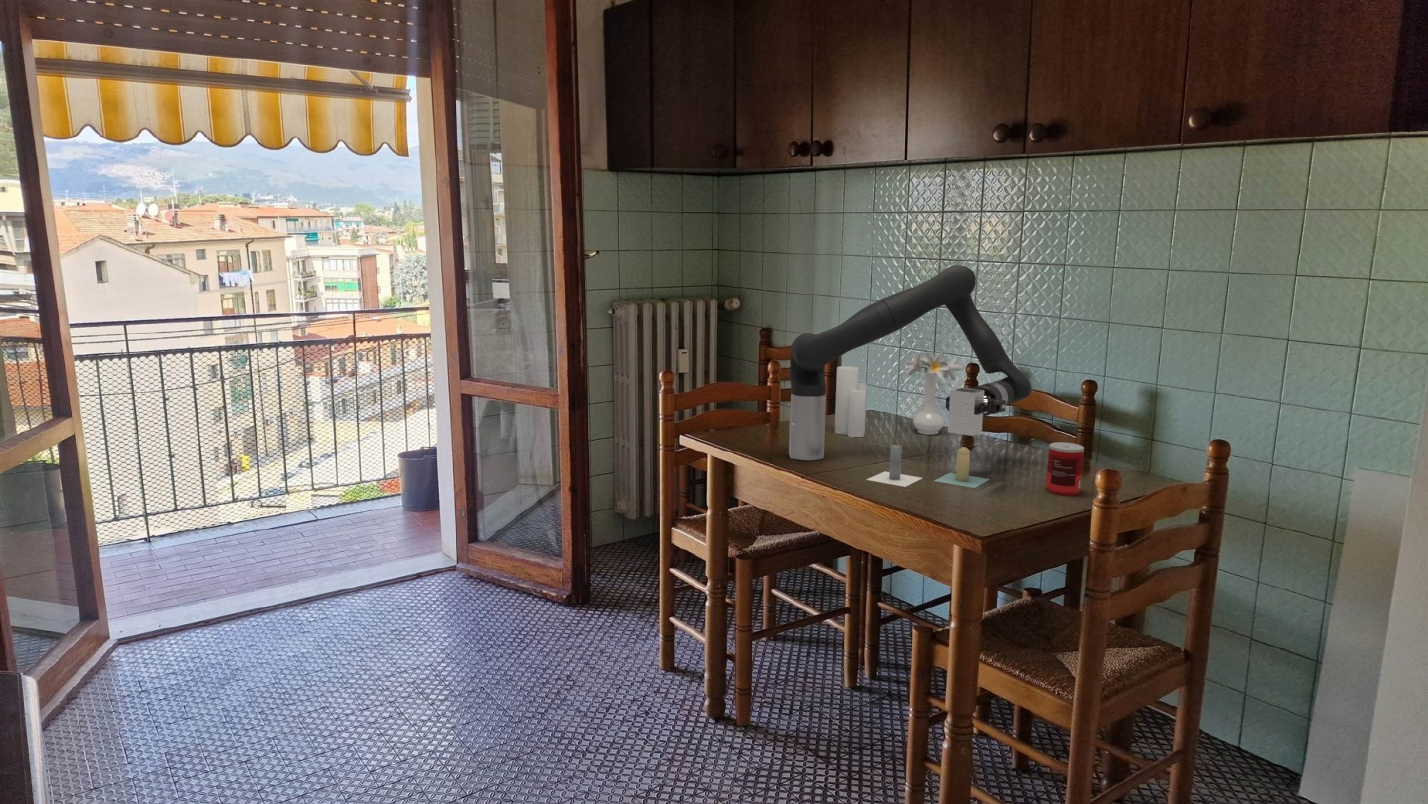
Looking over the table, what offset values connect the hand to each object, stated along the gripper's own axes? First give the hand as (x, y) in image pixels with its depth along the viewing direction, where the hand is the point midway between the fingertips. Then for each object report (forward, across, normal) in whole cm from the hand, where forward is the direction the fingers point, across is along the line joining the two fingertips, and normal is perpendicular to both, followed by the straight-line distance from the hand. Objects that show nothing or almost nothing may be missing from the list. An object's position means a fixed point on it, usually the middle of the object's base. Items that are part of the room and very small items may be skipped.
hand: (962, 408), depth 207 cm
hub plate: (-2, 0, +19) cm, 19 cm away
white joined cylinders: (-39, -49, +20) cm, 65 cm away
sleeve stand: (+7, -13, +19) cm, 24 cm away
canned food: (-13, +20, +20) cm, 31 cm away
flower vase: (-56, -32, +20) cm, 67 cm away
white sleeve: (-2, 0, +6) cm, 6 cm away
